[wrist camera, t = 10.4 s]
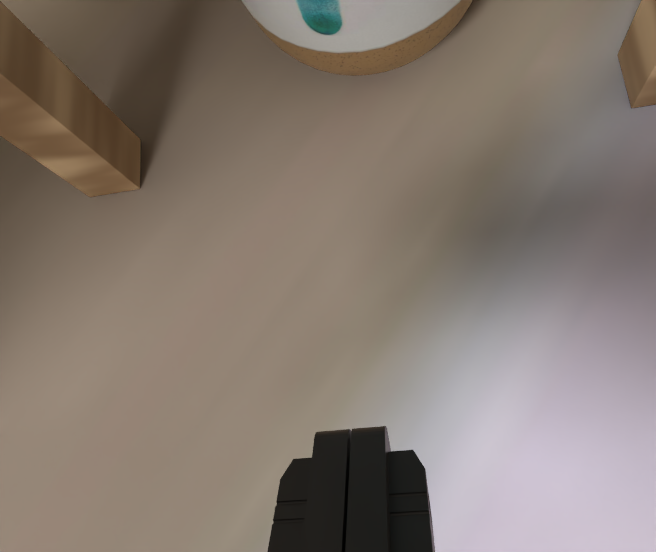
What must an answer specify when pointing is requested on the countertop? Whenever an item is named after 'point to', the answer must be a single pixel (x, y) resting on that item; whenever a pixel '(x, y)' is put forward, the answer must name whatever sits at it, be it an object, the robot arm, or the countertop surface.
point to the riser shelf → (122, 144)
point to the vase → (356, 30)
